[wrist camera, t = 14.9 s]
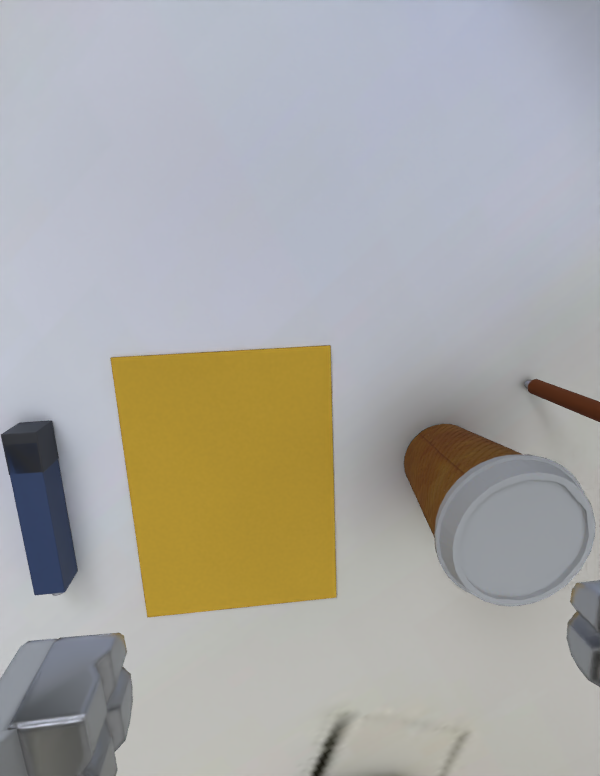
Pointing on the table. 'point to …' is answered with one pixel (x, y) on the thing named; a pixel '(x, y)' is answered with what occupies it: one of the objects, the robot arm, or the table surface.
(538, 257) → the table surface
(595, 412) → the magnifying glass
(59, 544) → the tall navy blue post
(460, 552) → the disposable coffee cup
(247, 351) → the cloth
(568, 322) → the table surface
